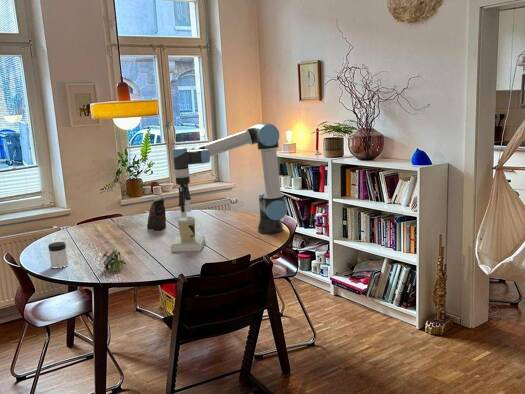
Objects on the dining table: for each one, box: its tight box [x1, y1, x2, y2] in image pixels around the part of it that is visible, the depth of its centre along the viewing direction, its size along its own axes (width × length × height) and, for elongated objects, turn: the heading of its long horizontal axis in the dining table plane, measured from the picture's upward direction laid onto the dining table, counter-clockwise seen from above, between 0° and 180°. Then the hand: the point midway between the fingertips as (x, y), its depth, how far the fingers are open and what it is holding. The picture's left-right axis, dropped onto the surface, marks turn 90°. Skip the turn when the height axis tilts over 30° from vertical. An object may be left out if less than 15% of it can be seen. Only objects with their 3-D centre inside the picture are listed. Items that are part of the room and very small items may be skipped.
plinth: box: [170, 235, 206, 253], centre depth 280 cm, size 16×16×4 cm
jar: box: [48, 241, 69, 268], centre depth 257 cm, size 9×8×12 cm
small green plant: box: [102, 249, 127, 273], centre depth 249 cm, size 11×11×12 cm
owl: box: [146, 195, 167, 232], centre depth 320 cm, size 13×13×20 cm
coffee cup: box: [177, 216, 196, 242], centre depth 278 cm, size 9×9×12 cm
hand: (186, 214), depth 277 cm, fingers open, 13 cm apart
